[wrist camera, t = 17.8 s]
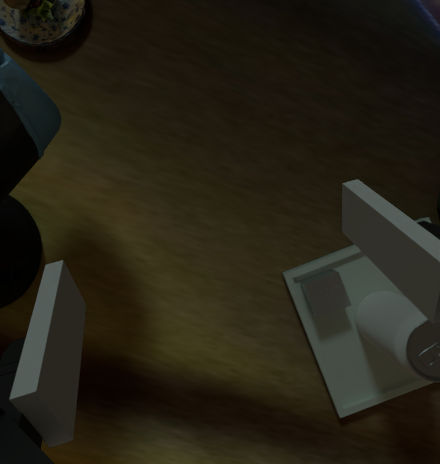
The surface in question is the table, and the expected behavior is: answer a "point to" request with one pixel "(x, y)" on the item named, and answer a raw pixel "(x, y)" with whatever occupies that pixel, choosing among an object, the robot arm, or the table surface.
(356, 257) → the tray
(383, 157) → the table surface
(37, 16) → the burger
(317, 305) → the grey metal block
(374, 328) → the can
